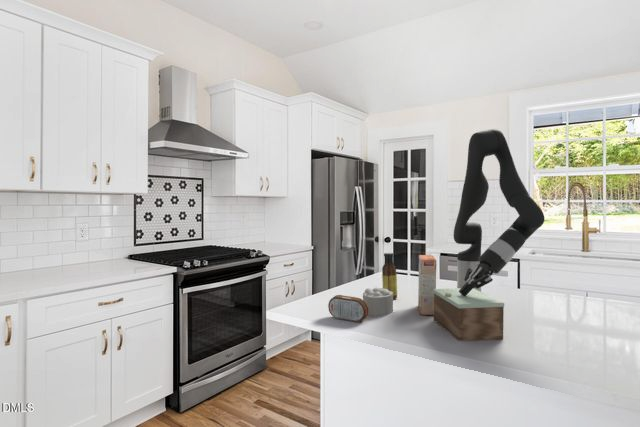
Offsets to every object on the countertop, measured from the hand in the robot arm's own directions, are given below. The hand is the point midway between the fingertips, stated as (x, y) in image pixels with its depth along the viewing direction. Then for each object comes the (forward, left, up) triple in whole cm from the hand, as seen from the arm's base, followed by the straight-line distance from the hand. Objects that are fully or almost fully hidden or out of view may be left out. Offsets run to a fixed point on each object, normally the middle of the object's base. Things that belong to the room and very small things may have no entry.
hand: (461, 294), depth 126 cm
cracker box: (-9, -21, -12) cm, 26 cm away
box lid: (-2, 0, -2) cm, 2 cm away
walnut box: (-2, +1, -12) cm, 12 cm away
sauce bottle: (-11, -43, -12) cm, 46 cm away
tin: (+24, -30, -12) cm, 40 cm away
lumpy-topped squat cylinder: (+8, -31, -12) cm, 35 cm away
